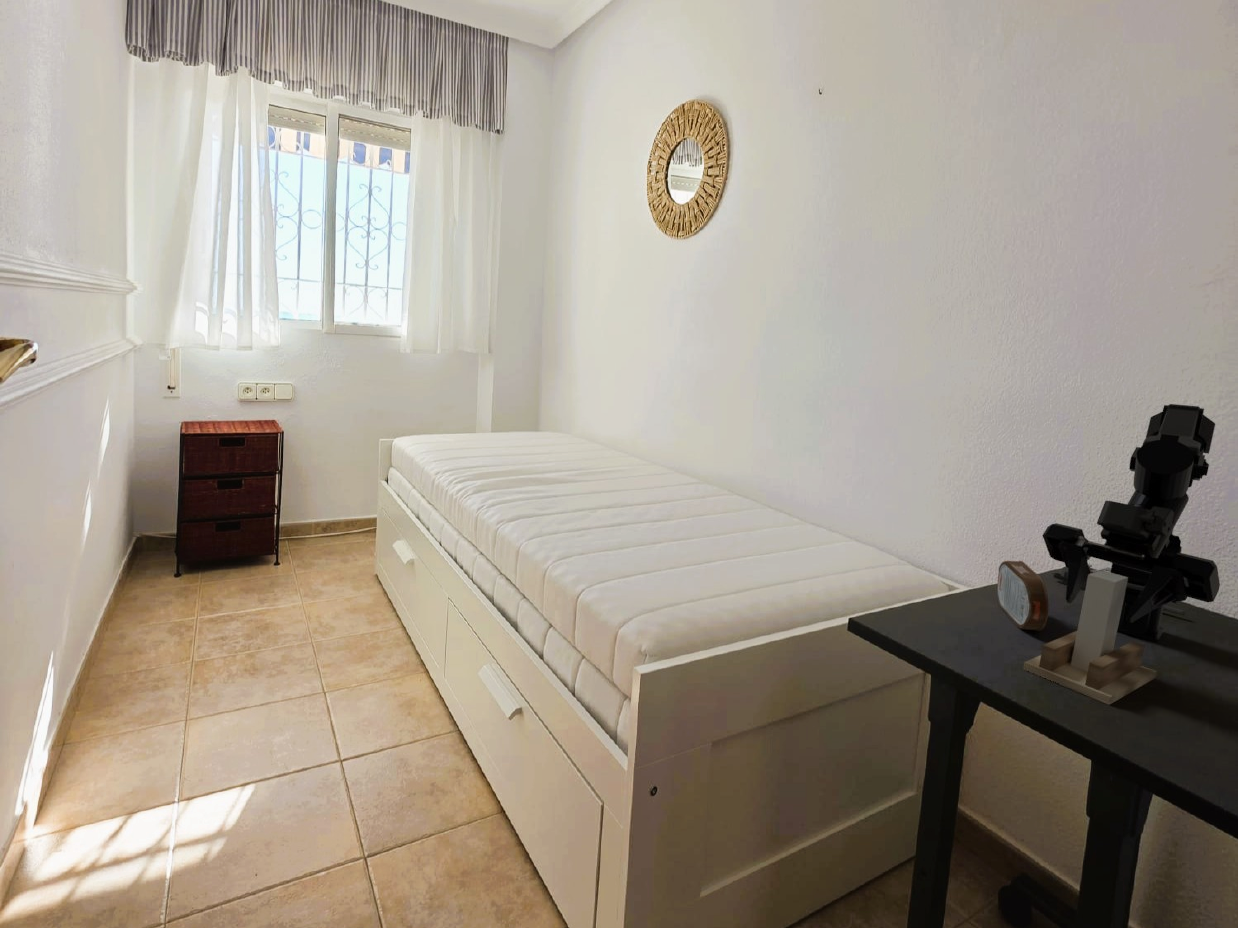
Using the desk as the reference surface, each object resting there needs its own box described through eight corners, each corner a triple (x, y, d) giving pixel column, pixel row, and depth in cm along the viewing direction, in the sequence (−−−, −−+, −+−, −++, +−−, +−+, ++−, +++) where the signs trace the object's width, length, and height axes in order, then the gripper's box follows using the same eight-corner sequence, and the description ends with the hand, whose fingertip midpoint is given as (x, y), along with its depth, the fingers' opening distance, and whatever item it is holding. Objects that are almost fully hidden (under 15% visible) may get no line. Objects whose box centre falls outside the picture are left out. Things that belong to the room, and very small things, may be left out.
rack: (1071, 647, 99) (1076, 621, 98) (1154, 677, 91) (1160, 649, 90) (1023, 669, 91) (1028, 640, 90) (1109, 704, 83) (1115, 673, 82)
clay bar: (1084, 658, 93) (1101, 570, 91) (1109, 667, 91) (1128, 577, 88) (1070, 665, 91) (1088, 574, 88) (1096, 674, 88) (1115, 582, 86)
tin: (1045, 640, 101) (1055, 585, 99) (1022, 637, 102) (1031, 582, 100) (1010, 603, 116) (1018, 554, 114) (990, 600, 116) (998, 552, 115)
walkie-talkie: (1046, 584, 127) (1181, 623, 112) (1050, 561, 126) (1187, 597, 111) (1064, 576, 133) (1195, 612, 117) (1068, 554, 132) (1201, 587, 117)
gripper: (1061, 466, 96) (1007, 552, 92) (1233, 496, 81) (1178, 601, 77) (1076, 515, 102) (1027, 598, 98) (1239, 552, 87) (1189, 652, 83)
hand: (1097, 610), depth 88 cm, fingers open, 7 cm apart
